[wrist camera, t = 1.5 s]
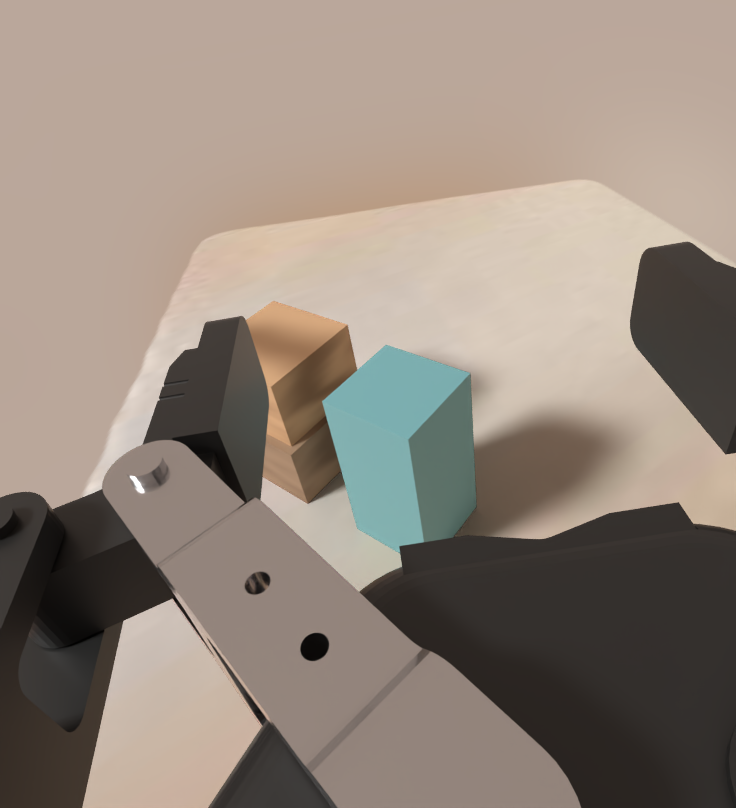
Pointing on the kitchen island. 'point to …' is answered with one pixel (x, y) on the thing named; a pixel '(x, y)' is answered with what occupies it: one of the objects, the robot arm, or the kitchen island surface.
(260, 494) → the robot arm
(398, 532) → the teal pillar
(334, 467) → the walnut base block
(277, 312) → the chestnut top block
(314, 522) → the kitchen island surface
